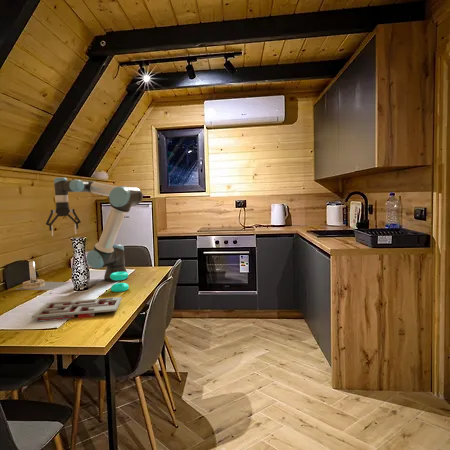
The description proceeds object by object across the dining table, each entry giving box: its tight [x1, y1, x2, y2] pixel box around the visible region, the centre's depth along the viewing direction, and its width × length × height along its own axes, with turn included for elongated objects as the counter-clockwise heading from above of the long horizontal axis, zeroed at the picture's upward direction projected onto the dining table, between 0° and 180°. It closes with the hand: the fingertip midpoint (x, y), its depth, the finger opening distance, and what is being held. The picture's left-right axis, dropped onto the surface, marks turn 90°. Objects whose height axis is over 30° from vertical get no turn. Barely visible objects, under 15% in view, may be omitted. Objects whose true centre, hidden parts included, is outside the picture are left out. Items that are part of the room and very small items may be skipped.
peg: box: [28, 261, 37, 283], centre depth 204 cm, size 3×3×15 cm
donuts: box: [110, 271, 130, 293], centre depth 195 cm, size 10×10×10 cm
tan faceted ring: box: [22, 278, 45, 289], centre depth 205 cm, size 11×11×3 cm
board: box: [14, 281, 71, 291], centre depth 206 cm, size 24×18×2 cm
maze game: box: [31, 296, 123, 321], centre depth 158 cm, size 35×20×3 cm, turn 100°
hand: (64, 234), depth 219 cm, fingers open, 13 cm apart
